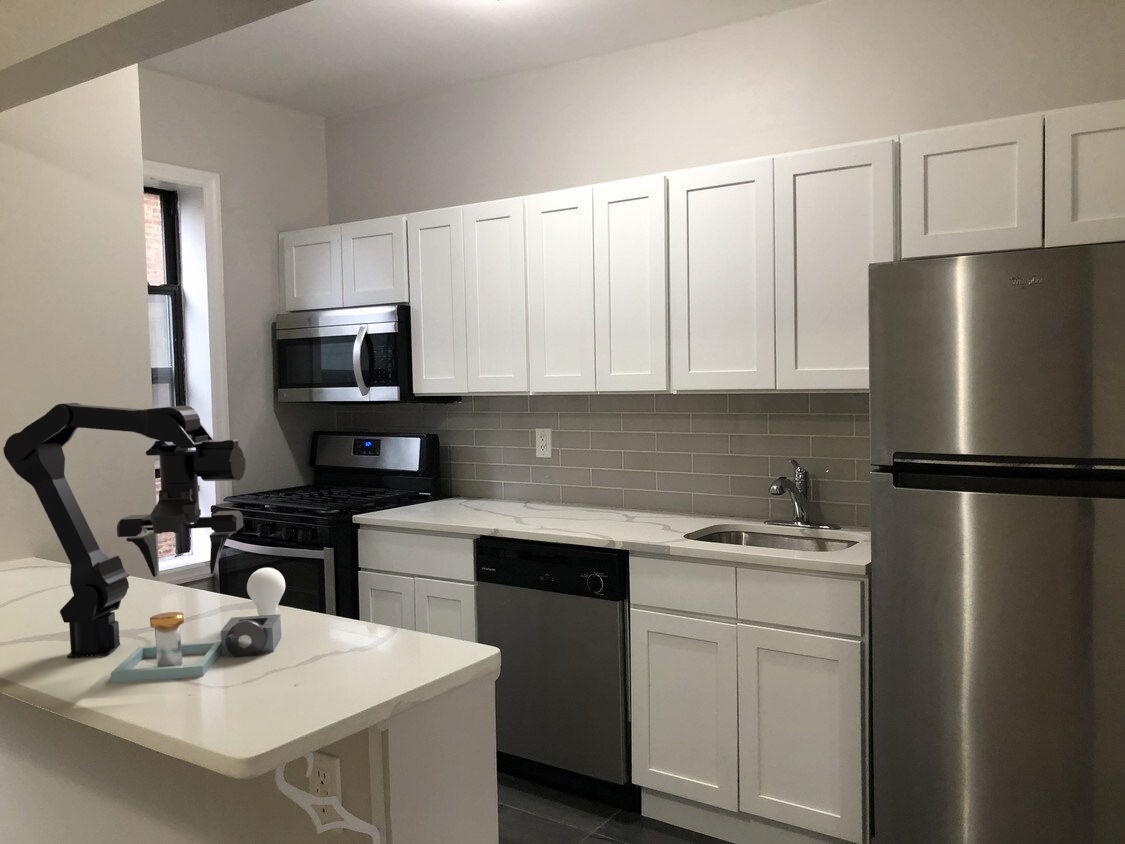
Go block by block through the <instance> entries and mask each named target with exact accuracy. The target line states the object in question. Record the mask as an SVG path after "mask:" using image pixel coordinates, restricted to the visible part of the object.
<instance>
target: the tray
mask: <svg viewBox="0 0 1125 844" xmlns="http://www.w3.org/2000/svg"><path fill="white" fill-rule="evenodd" d="M181 648H182V656H183V655H186V656H187V655H199V654H205V655H203V657H202V659H200V661H199V662H198V663H197V664H188V665H187V664H186V665H181V666H170V667H157V666H156V667H146V668H135V667H136V666H137V665H138V664H139V663H140V662H141V661H142V660H143V659H144V658H155V657H156V658H157V655H156V644H155V645H144V646H143V645H142V646H138V647H137V648H136V649H134V650H133V652H131V653H130V654H129V655H128V656H127V657H126V658H125V659H124V660H123V661H122V662H121V663H119V664H118V665H117V667H115V668H114V669H113V670H112V671H111V672H110V679H111V680H110V681H111V684H117V683H129V682H130V683H131V682H133V683H134V682H144V681H146V682H147V681H157V680H158V681H159V680H168V679H169V680H171V679H185V678H199V677H204V676H205V675H206V673H208V671H209V669H210V668H211V667H212V665H213V664H214V663H215V661H216V660H217V659H218V658H219V656H221V655H222V645H221V640H217V641H202V642H201V641H199V642H187V643H186V642H185V643H181Z"/></svg>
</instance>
